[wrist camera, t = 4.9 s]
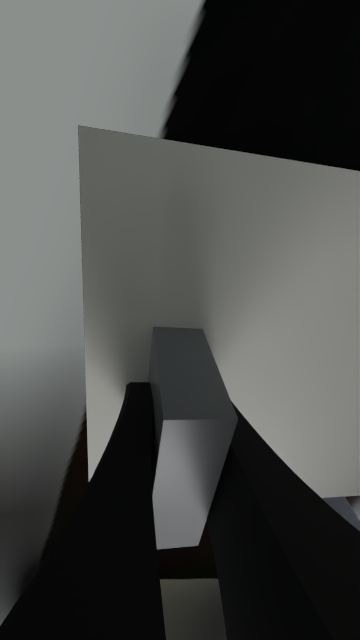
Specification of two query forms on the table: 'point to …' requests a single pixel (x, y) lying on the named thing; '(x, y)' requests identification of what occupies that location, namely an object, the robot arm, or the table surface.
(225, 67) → the table surface
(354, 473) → the carton lid
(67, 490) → the table surface
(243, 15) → the table surface
